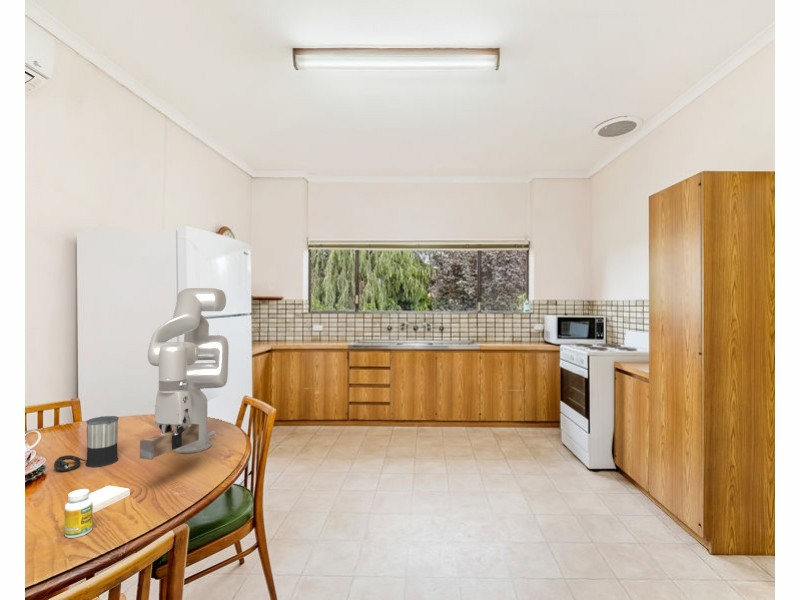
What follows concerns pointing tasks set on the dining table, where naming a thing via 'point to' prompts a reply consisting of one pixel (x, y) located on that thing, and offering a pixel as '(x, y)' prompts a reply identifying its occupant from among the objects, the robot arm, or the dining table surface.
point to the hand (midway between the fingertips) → (172, 446)
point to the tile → (107, 496)
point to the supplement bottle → (78, 514)
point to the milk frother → (96, 444)
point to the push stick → (166, 442)
